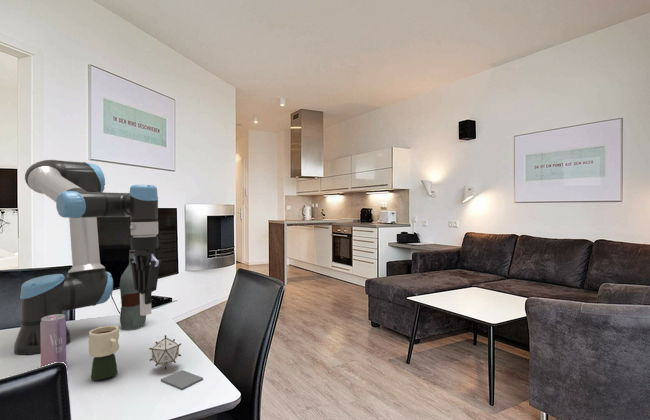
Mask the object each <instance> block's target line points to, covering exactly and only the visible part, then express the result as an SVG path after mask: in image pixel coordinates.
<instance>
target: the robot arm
mask: <svg viewBox="0 0 650 420" xmlns="http://www.w3.org/2000/svg"><path fill="white" fill-rule="evenodd" d="M24 180H25V183H26V185H27V186H28V187H29V188H30V189H31V190H32V191H34V192H36V193H39V194H40V195H41V194H42V195H45V196H46V197H47V198H49V199H50V200H52V201H53V202H55V204H56V205H55V206H56V211H57V213H58V216H59V217H62V218H67V219H68V220H69V221H68V222H69V233H70V235H69V236H70V247H71V248H70V250H71V263H72V267H71V268H70V269H69V270H68V272H67V277H65V275H64V274H62V273H53V274H47V275H42V276H37V277H33V278H31V279H29V280H26V281H24V282H23V283H22V285H21V289H20V296H19V298H20V328H19V331H18V334H17V337H16V339H15V341H14V344H13V349H14V350H13V351H14V353H15V354H17V355H35V354H36V355H37V354H41V336H40V323H41V319H42V318H43V317H46V316H50V315H56V314H64V315H65V312H67V311H72V310H77V309H81V308H87V307H94V306H97V305H102V304H104V303H106V302H107V301H108V300H109V299H110V297H111V296H112V293H113V288H114V279H113V277H112V276H113V275H112V274H111V272H109V271H106V267H105V266H104V265H103V264H101V258H100V247H99V246H100V243H99V232H98V231H99V230H98V219H97V218H129V217H130V219H129V220H130V226H129V229H130V236H132V237H130V250H135V254H134V256H135V257H134V258H130V264H131V267H132V273H133V280H134V287H135V290H138V292H139V293H140V315H142V316H144V315H146V316H147V315H151V314H152V293H153V292H155V291H157V287H158V279H159V273H160V266H161V264H162V259H157V258H156V255H157V254H156V251H155V250H156V249H158V248H159V237H158V236H157V235H158V234H159V220H158V219H159V196H158V195H159V194H158V188H157V186H155V185H154V184H153V185H152V184H132V185H130V188H129V192H106V191H105V188H106V187H105V186H106V179H105V174H104V172H103V170H102V168H101V167H100V166H99V165H98V164H95V163H90V162H86V161H82V162H80V161H71V160H70V161H69V160H68V161H67V160H56V159H47V160H46V159H45V160H40V161H38V162H35V163H32V165H30V166H29V167H28V168H27V170H26V171H25V173H24ZM104 191H105V192H104ZM71 340H72V339H71V332H70V330H69V328H68V325H67V324H66V346H67V345H69V344H70V343H71V342H72V341H71Z"/></svg>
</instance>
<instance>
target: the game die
mask: <svg viewBox="0 0 650 420" xmlns="http://www.w3.org/2000/svg"><path fill="white" fill-rule="evenodd" d="M175 341H176V338H173V339H170V338H168V337H167V335H166V334H165V335H164V337H163V339H161V340H160V341H155V345H154V346H153V347H149V348H148V349H149V351H151V358H150V359H149V360H148V361H149V362H151V361H153V362H154V363H155V366H154V367H158V365H159V366H162V367H164V369H165V370H166V369H167V366H169V365H170V364H172V363H173V364H176V363H177V361H176V360H177V358H178V357H181V356H182V355H181V353H180V346H181V345H182V343H179V344H178V343H177V342H175Z"/></svg>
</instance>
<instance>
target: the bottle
mask: <svg viewBox="0 0 650 420" xmlns="http://www.w3.org/2000/svg"><path fill="white" fill-rule="evenodd" d="M128 254H129V255H128V261H129V262H128V265H127V267H126V268H125V270H124V271H123V273H122V274H121V276H120V281H119V293H120V301H121V307H120V315H119V323H120V327H121V330H123V331H135V330H138V329H141V327H142V328H143V327H145V326H146V325H145V324H146V321H147V320H146V319H147V315H144V316H142V315H140V293H139V292H138V290H135V287H134V280H133V273H132V267H131V264H130V258H134V257H135V256H134V254H135V250H132V249H129V250H128Z"/></svg>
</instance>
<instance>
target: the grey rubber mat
mask: <svg viewBox="0 0 650 420" xmlns="http://www.w3.org/2000/svg"><path fill="white" fill-rule="evenodd" d="M201 381H204V377H202V376H199V375H197V374H195V373H194V374H193V373H191V372H189V371H186V370H184V369H181V370H179V371H177V372H174V373H172V374H170V375H167V376H165V377H162V378H160V382H161V383H162V384H163V383H164V384H166V385H168V386H171V387H173V388H175V389H177V390H180V391H183V390H185V389H188V388H189V387H192V386H194V385H195V384H198V383H200V382H201Z"/></svg>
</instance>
